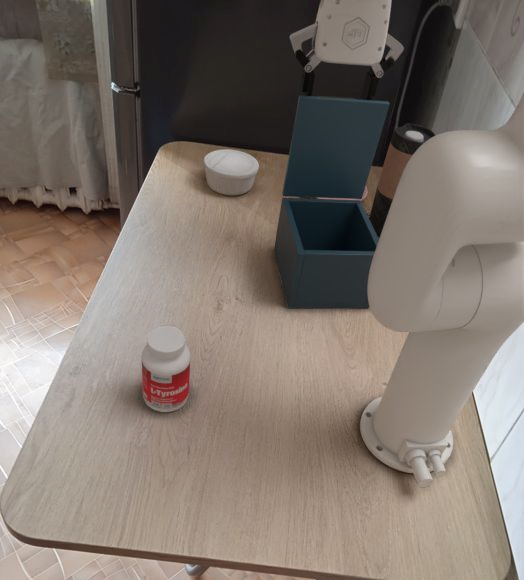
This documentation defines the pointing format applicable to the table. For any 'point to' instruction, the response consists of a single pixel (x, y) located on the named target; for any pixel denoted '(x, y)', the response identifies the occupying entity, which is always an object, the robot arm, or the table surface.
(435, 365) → the robot arm
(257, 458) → the table surface
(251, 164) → the ramekin
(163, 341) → the pill bottle
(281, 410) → the table surface
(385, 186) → the travel mug
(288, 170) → the lid
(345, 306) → the chest
